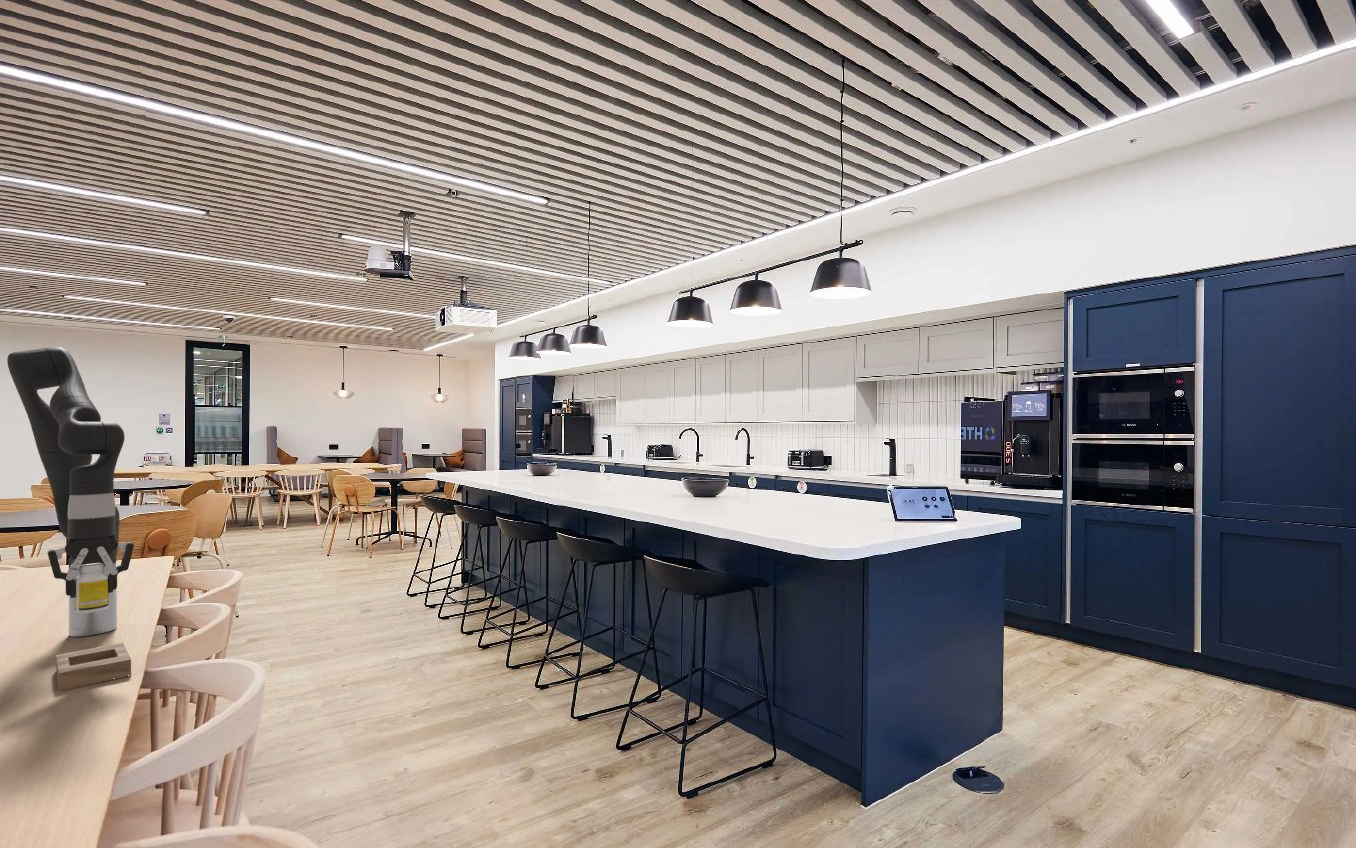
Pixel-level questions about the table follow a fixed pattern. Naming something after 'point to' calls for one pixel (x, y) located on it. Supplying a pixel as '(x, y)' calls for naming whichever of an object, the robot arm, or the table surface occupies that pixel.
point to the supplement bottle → (91, 589)
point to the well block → (92, 666)
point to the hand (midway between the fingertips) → (92, 594)
